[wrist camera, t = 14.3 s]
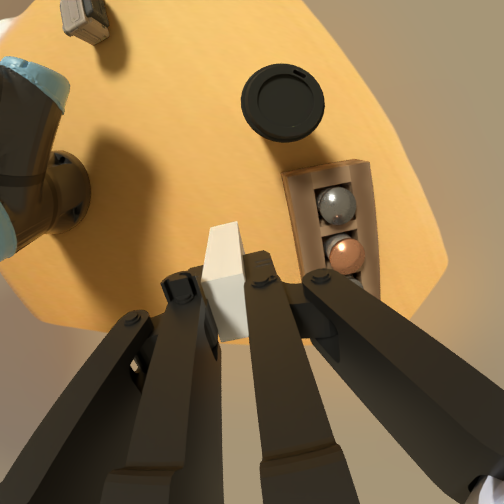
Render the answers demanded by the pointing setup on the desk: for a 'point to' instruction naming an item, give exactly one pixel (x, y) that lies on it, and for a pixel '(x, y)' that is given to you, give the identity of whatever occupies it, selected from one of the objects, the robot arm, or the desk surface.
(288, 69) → the coffee cup
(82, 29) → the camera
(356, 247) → the terracotta plunger
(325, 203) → the ball
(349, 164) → the wooden jar holder
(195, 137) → the desk surface
